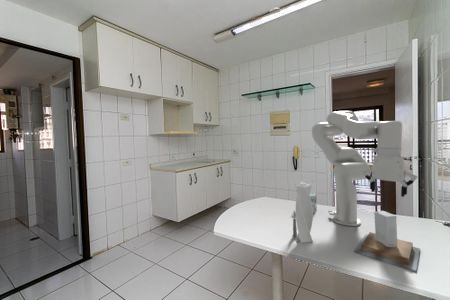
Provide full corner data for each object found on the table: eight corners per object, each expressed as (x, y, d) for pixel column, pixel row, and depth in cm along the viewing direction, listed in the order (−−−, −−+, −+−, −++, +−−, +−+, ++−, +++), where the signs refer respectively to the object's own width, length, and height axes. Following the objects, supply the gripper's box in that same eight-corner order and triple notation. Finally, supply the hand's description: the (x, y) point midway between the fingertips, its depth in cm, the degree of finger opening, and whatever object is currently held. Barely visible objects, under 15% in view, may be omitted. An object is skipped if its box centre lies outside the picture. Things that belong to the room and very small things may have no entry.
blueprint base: (354, 252, 81) (354, 244, 81) (365, 235, 93) (365, 229, 93) (416, 272, 68) (416, 263, 68) (419, 249, 80) (420, 242, 80)
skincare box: (398, 246, 78) (398, 216, 77) (386, 247, 78) (386, 216, 77) (384, 238, 84) (384, 210, 83) (374, 239, 84) (373, 211, 83)
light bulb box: (317, 209, 128) (316, 192, 127) (315, 213, 122) (314, 195, 121) (299, 207, 133) (298, 191, 133) (296, 210, 128) (296, 193, 127)
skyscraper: (310, 235, 97) (308, 177, 95) (317, 244, 89) (316, 180, 87) (292, 236, 97) (290, 178, 95) (298, 245, 89) (296, 181, 87)
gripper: (360, 151, 86) (360, 191, 87) (417, 154, 73) (414, 200, 74) (366, 150, 91) (365, 187, 92) (419, 152, 78) (417, 195, 79)
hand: (387, 193), depth 83 cm, fingers open, 9 cm apart
